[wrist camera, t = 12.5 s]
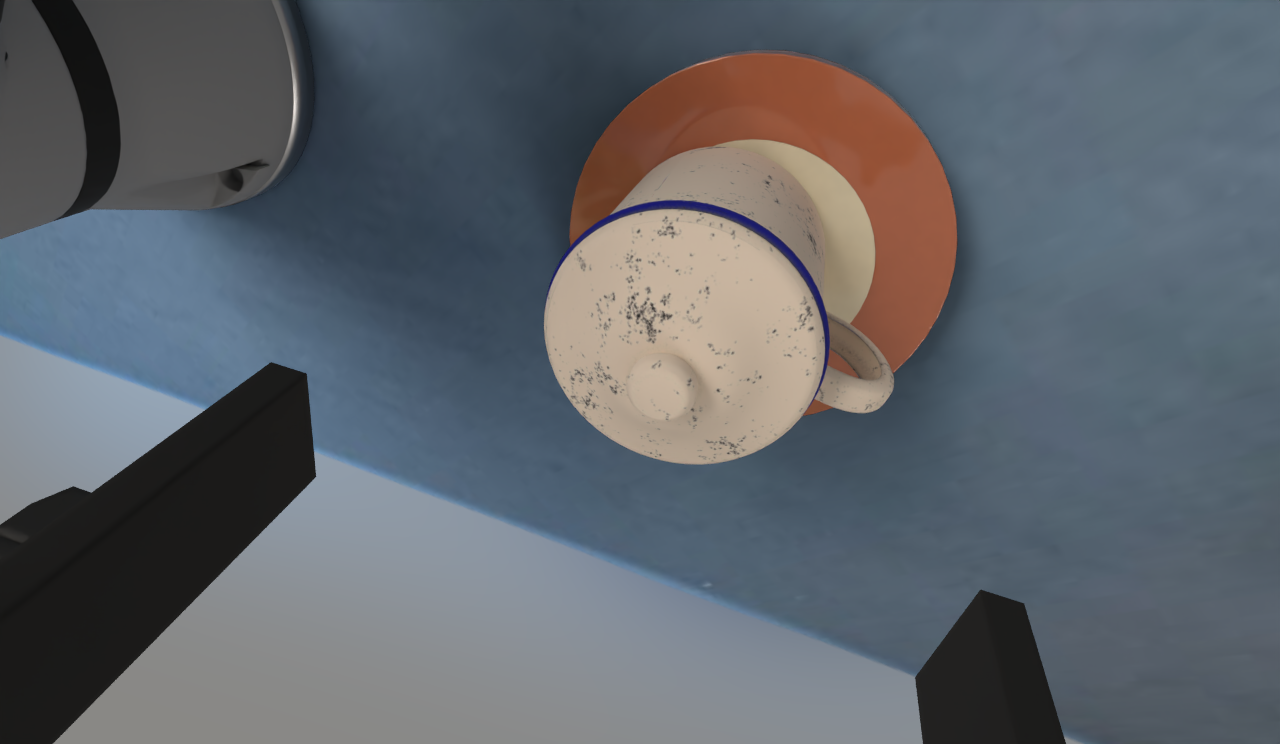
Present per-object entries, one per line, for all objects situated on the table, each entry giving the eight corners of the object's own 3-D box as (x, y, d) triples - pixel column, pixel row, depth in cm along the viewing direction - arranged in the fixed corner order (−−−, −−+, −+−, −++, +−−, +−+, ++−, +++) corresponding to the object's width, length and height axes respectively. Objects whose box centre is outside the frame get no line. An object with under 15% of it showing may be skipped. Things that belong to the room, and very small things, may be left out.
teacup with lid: (588, 293, 31) (475, 442, 21) (659, 98, 26) (554, 177, 16) (827, 403, 31) (822, 604, 21) (945, 228, 26) (1010, 387, 16)
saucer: (562, 344, 35) (547, 364, 34) (615, 3, 27) (599, 6, 25) (864, 437, 34) (865, 462, 32) (1026, 106, 25) (1040, 116, 23)
